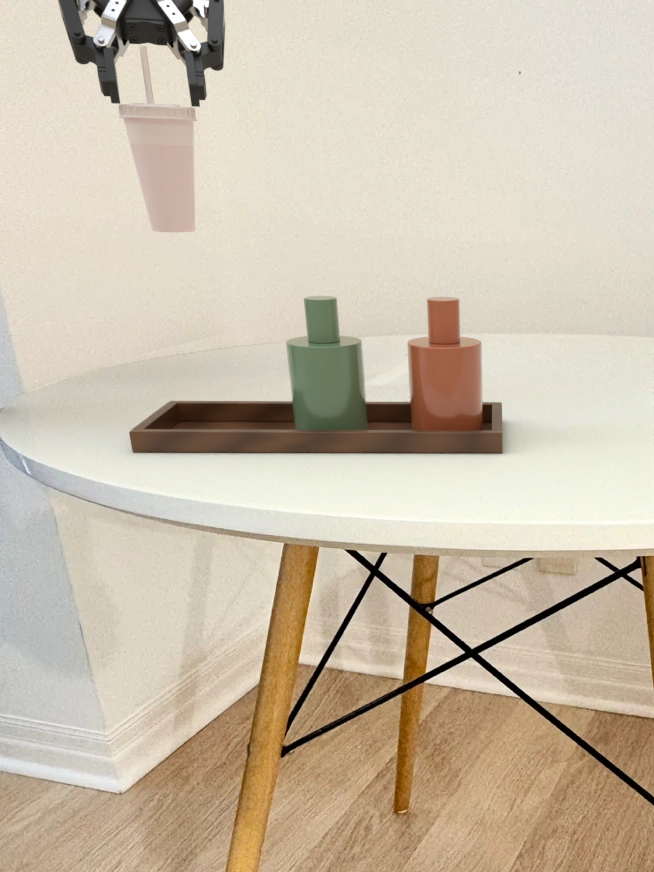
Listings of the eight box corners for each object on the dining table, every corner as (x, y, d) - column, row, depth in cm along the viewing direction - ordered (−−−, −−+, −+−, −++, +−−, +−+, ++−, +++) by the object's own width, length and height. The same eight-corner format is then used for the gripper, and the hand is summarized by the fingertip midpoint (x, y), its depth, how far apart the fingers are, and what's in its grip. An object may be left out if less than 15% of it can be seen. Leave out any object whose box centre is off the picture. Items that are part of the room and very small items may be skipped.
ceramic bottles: (289, 444, 76) (274, 302, 71) (302, 426, 81) (288, 292, 76) (482, 444, 76) (480, 303, 72) (483, 427, 81) (481, 294, 76)
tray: (133, 460, 74) (128, 431, 73) (174, 426, 83) (170, 400, 82) (502, 461, 75) (502, 432, 74) (502, 427, 84) (501, 401, 83)
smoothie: (159, 227, 94) (134, 49, 87) (222, 230, 93) (202, 50, 86) (122, 231, 89) (92, 41, 82) (189, 234, 88) (164, 42, 81)
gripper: (35, -109, 83) (53, 52, 79) (216, -93, 87) (241, 61, 83) (55, -21, 90) (72, 131, 86) (221, -10, 94) (245, 136, 90)
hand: (155, 96), depth 85 cm, fingers closed on smoothie, 6 cm apart
